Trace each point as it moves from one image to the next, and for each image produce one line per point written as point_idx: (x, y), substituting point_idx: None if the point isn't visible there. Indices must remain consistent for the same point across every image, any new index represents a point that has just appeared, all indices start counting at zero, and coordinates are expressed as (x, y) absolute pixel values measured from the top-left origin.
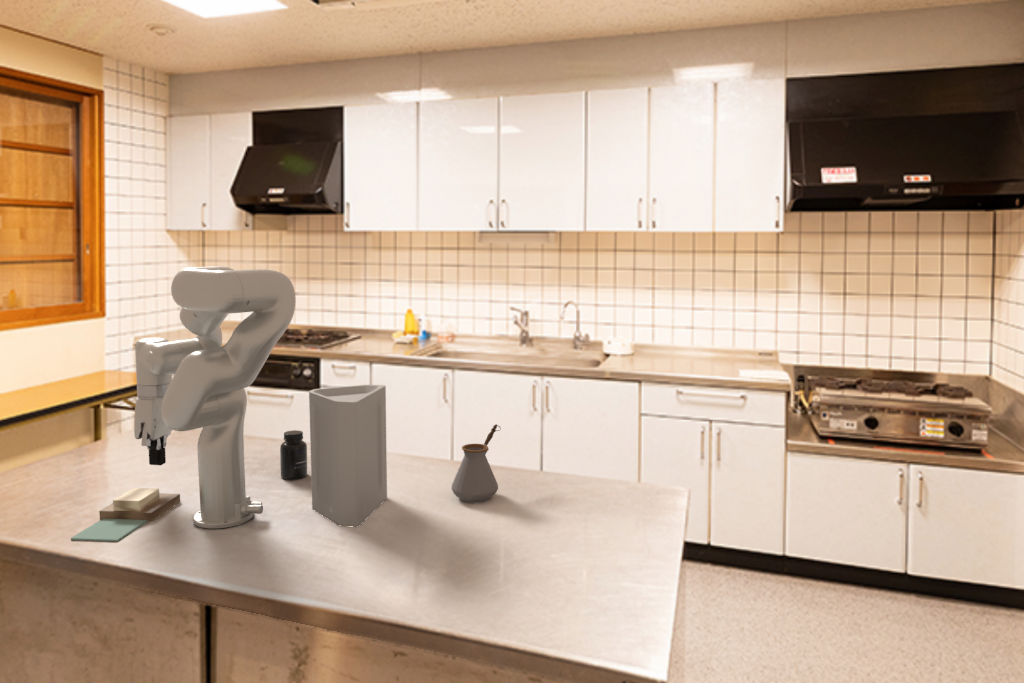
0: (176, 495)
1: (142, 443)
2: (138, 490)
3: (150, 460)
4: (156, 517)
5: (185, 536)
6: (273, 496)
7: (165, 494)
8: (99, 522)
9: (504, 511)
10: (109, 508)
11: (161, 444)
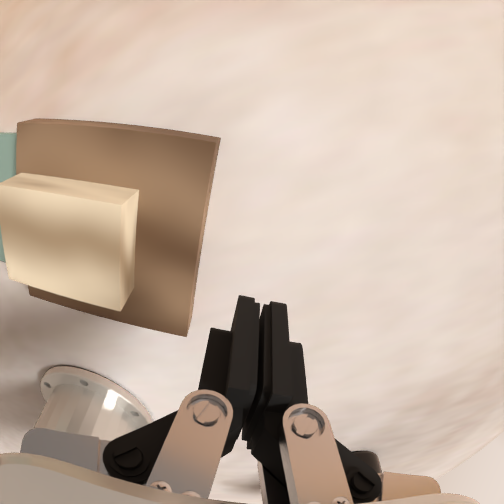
0: (169, 330)
1: (25, 448)
2: (92, 238)
3: (236, 318)
4: None
5: (11, 355)
6: (227, 457)
7: (180, 295)
8: (5, 142)
9: None
10: (35, 146)
11: (263, 461)
